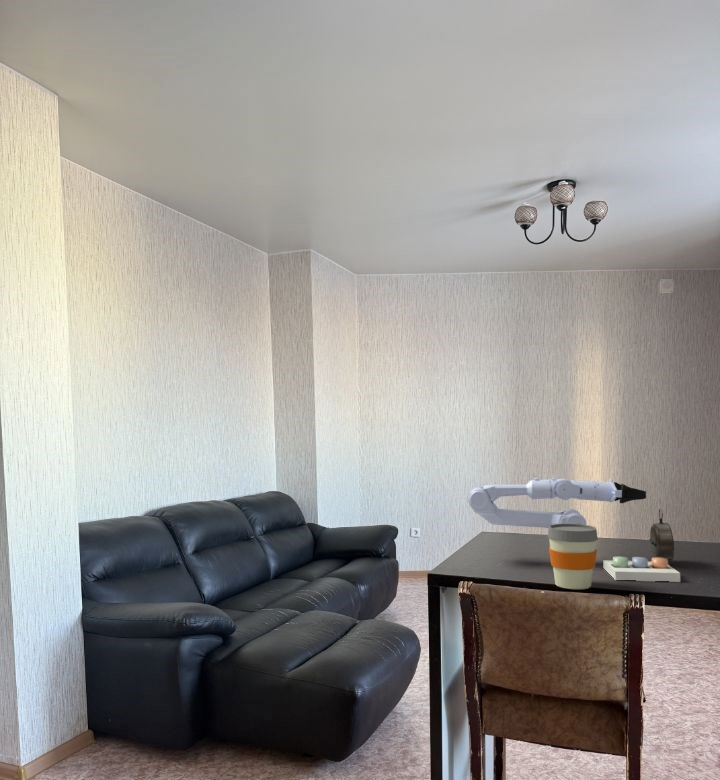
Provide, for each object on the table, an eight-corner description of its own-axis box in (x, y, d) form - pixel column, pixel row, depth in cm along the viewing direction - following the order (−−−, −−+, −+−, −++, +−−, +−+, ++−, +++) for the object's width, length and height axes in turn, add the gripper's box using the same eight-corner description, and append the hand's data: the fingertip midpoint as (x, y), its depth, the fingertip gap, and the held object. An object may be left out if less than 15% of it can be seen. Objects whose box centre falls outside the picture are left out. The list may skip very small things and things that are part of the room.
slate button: (634, 570, 187) (634, 559, 188) (630, 567, 191) (630, 556, 192) (649, 571, 187) (649, 560, 187) (645, 567, 191) (645, 557, 191)
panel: (615, 580, 183) (615, 571, 183) (603, 568, 197) (603, 560, 197) (680, 582, 181) (680, 573, 181) (663, 570, 195) (663, 561, 195)
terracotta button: (654, 571, 187) (654, 560, 187) (649, 567, 191) (649, 557, 191) (669, 571, 186) (669, 560, 186) (664, 568, 190) (664, 557, 190)
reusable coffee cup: (541, 579, 185) (540, 523, 185) (586, 578, 185) (586, 523, 186) (558, 591, 172) (557, 531, 173) (606, 590, 173) (605, 531, 173)
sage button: (615, 570, 188) (614, 559, 188) (611, 567, 192) (611, 556, 192) (630, 570, 188) (629, 559, 188) (626, 567, 192) (626, 556, 192)
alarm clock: (675, 567, 198) (674, 511, 198) (655, 567, 199) (654, 511, 199) (666, 559, 209) (665, 506, 209) (647, 559, 210) (647, 506, 210)
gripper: (599, 478, 197) (649, 481, 194) (590, 476, 211) (637, 479, 209) (598, 503, 196) (648, 506, 194) (590, 499, 210) (636, 502, 208)
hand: (642, 494), depth 201 cm, fingers open, 7 cm apart
